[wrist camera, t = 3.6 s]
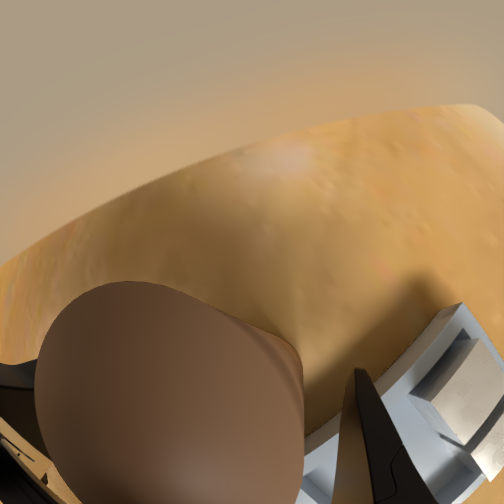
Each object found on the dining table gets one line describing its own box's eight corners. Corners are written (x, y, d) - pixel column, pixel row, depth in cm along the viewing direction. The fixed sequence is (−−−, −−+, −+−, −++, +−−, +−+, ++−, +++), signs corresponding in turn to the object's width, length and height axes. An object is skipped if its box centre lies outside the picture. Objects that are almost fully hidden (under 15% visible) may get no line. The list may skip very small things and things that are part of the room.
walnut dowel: (253, 427, 14) (138, 564, 2) (204, 365, 16) (12, 370, 4) (320, 378, 14) (379, 481, 2) (267, 316, 16) (160, 217, 4)
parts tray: (370, 541, 8) (377, 562, 6) (272, 458, 13) (265, 479, 10) (509, 412, 9) (531, 417, 7) (439, 310, 14) (462, 301, 11)
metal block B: (433, 429, 11) (464, 445, 7) (401, 391, 12) (430, 402, 8) (473, 381, 11) (509, 384, 7) (444, 342, 13) (480, 337, 9)
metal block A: (461, 464, 9) (490, 481, 5) (439, 437, 10) (470, 454, 7) (498, 420, 9) (531, 428, 5) (479, 390, 11) (515, 394, 7)
